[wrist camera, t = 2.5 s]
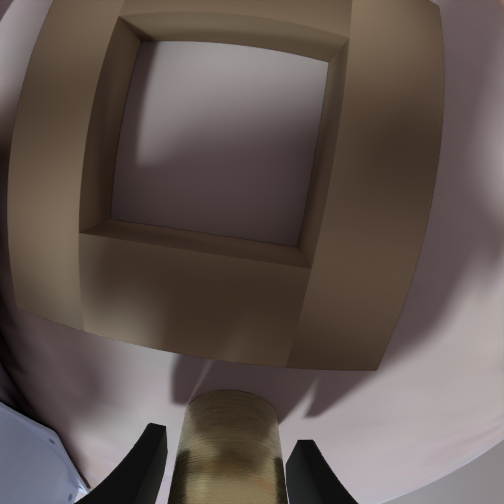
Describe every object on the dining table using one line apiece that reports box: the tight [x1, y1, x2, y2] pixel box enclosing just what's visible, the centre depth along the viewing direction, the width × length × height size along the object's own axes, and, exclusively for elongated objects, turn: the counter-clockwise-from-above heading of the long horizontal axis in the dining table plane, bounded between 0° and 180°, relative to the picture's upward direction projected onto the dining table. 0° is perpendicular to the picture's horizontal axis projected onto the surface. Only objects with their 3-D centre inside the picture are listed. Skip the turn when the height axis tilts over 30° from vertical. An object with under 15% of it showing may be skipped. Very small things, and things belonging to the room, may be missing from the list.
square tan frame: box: [7, 0, 444, 371], centre depth 7 cm, size 12×12×2 cm
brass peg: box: [168, 390, 288, 504], centre depth 8 cm, size 4×4×7 cm
